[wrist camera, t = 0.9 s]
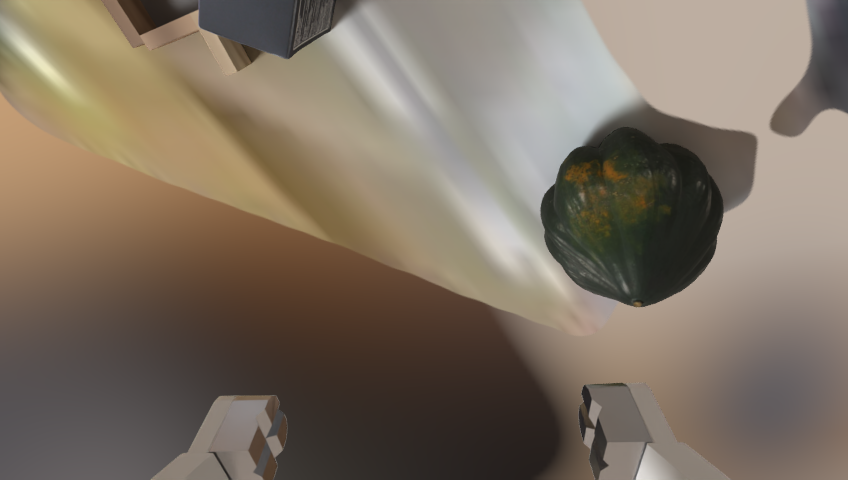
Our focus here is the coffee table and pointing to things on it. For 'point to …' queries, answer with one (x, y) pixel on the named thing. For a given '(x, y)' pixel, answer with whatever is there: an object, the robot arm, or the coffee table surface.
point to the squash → (632, 218)
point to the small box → (268, 22)
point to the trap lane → (172, 28)
